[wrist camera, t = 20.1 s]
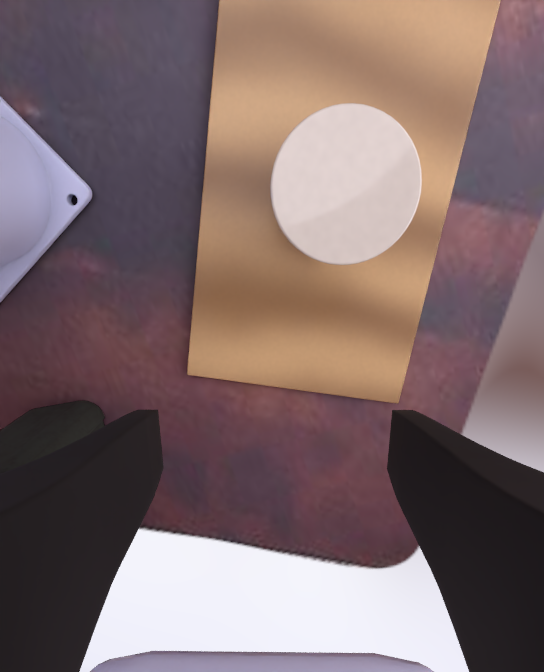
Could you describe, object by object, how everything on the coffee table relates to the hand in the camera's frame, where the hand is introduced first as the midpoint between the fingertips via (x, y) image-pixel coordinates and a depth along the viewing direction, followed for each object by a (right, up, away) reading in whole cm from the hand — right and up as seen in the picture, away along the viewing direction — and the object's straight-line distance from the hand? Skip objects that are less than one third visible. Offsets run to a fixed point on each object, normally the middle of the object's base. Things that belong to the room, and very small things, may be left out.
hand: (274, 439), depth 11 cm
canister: (+2, +10, +7) cm, 12 cm away
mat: (+2, +10, +7) cm, 12 cm away
